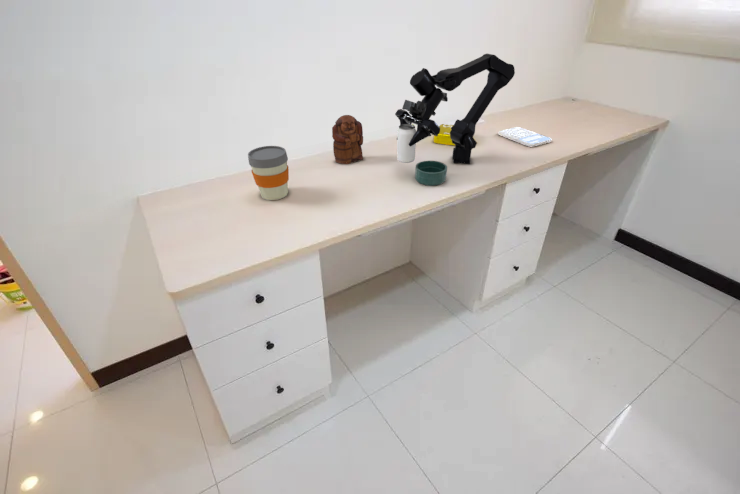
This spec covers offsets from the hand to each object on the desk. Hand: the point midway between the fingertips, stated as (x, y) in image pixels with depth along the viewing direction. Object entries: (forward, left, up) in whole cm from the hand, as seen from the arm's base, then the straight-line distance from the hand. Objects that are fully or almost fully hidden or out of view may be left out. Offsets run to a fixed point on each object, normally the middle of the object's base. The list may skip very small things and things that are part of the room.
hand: (403, 142), depth 131 cm
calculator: (-51, -47, -13) cm, 71 cm away
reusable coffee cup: (+43, +19, -13) cm, 48 cm away
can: (-1, -1, -7) cm, 7 cm away
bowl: (-10, +1, -13) cm, 17 cm away
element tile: (-19, -42, -13) cm, 48 cm away
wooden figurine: (+23, -13, -13) cm, 29 cm away
